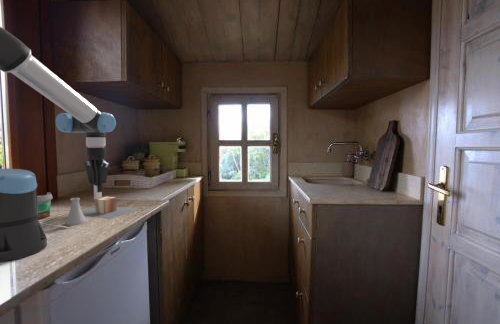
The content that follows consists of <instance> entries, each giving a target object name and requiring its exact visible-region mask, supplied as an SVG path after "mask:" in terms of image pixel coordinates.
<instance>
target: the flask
mask: <svg viewBox="0 0 500 324" xmlns="http://www.w3.org/2000/svg"><path fill="white" fill-rule="evenodd" d="M69 200H70V203H71V205H70V209H69V213H68V216H67V218H66V221H65V226H69V227H72V226H78V225H82V224H86V223H87V219H86V216H84V215H83V213H82V211H83V210H82V208H81V205H80V200H81V198H80V197H72V198H70V199H69Z"/></svg>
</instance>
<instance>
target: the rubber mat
mask: <svg viewBox="0 0 500 324" xmlns="http://www.w3.org/2000/svg"><path fill="white" fill-rule="evenodd" d="M135 211H139V209H137V208H129V207H121V206H117V211H114V212H110V213H107V214H103V213H95V207H92V208H89V209H84V210H82V213H83V215H84V217H91V218H92V217H94V218H98V219H99V218H100V219H108V220H111V219H113V218H116V217H120V216H124V215H127V214H129V213H134V212H135Z"/></svg>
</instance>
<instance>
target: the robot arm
mask: <svg viewBox="0 0 500 324" xmlns="http://www.w3.org/2000/svg"><path fill="white" fill-rule="evenodd" d="M0 71H1V72H4V73H11V74H12V75H14V76H15V77H17V78H18V79H19V80H21V81H22V82H23V83H25V84H26V85H28V86H29V87H31V88H32V89H33V90H34V91H36V92H38V93H39V94H40V95H42V96H44V98H46V99H47V100H49V101H50V102H52V103H53V104H55V105H56V106H57V107H59V108H61V109H62V110H63V111H64V112H60V113H59V114H57V116H56V118H55V126H56V128H57V130H58V131H60V132H62V133H67V134H70V133H74V134H85V146H86V152H85V153H86V156H87V157H88V159H87V160H88V161H86V162H84V163H83V165H84V167H85V168H86V174H87V179H88V183H89V184H91V185H92V188H93V189H92V191H93V200H94V201H95V199H98V198H102V197H103V195H102V194H103V193H102V192H103V186H104V184H107V178H108V173H109V172H108V170H109V167H110V165H111V163H110V162H107V161H106V158H105V157H106V156H107V148H106V145H107V143H106V142H107V141H106V133H110V132H113V131H114V130H115V128H116V125H117V121H116V118H115V116H114V115H113V114H111V113H109V112H101V111H100V110H99V109H97V107H96V106H95V105H94V104H92V103H90V102H89V101H88V100H87V99H86V98H84V97H83V96H82V95H81V93H78V92H77V91H76V90H74V89H73V88H72V87H71V86H70V85H68V84H67V83H66V82H65V81H64V80H63V79H61V78H60V77H59V76H58V75H57V74H55V73H54V72H53V71H51V69H49V68H48V67H47V66H46V65H45V64H43V62H41V61H40V60H38V59H37V58H36V57H35V56H33V55H32V50H31V48H30V47H28V46H27V45H26V44H25V43H24V42H22V41H21V40H20V39H18V38H17V37H16V36H14V35H13V34H12V33H11V32H9V31H8V30H6V29H5V28H3V27H1V26H0ZM2 166H3V165H2V164H1V163H0V263H3V262H8V261H13V260H17V259H21V258H24V257H28V256H32V255H33V254H35V253H38V252H40V251H42V250H44V249H45V248H47V246H48V238H47V235H46V233H45V232H44V230H43V227H42V226H41V224H40V221H39V220H38V204H37V196H38V182H37V178H36V174H35V173H34V172H32V171H31V170H27V169H24V168H23V169H21V168H3V167H2Z"/></svg>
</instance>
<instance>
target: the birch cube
mask: <svg viewBox="0 0 500 324" xmlns="http://www.w3.org/2000/svg"><path fill="white" fill-rule="evenodd" d="M117 201H118V197H115V196H102V198H98V199H95V200H94V206H95V207H94V208H95V213H103V214H107V213H110V212H114V211H117V207H118V202H117Z"/></svg>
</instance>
